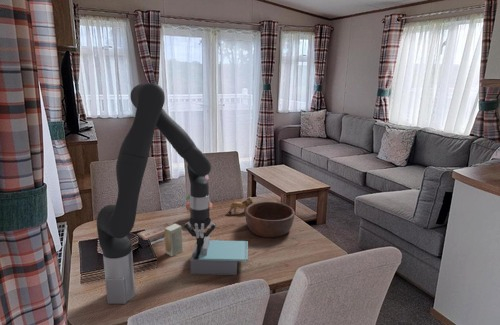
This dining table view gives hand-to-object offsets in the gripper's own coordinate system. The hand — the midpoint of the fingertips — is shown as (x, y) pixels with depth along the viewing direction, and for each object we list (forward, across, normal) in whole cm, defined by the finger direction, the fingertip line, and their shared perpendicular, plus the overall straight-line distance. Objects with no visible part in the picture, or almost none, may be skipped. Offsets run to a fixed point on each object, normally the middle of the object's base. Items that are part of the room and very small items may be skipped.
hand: (200, 245), depth 137 cm
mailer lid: (+4, +10, 0) cm, 11 cm away
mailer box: (+9, +6, 0) cm, 11 cm away
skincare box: (+9, -13, +9) cm, 18 cm away
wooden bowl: (+9, +30, +34) cm, 46 cm away
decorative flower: (+9, -7, +42) cm, 43 cm away
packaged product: (+9, -25, +22) cm, 34 cm away
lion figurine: (+9, +16, +54) cm, 57 cm away
